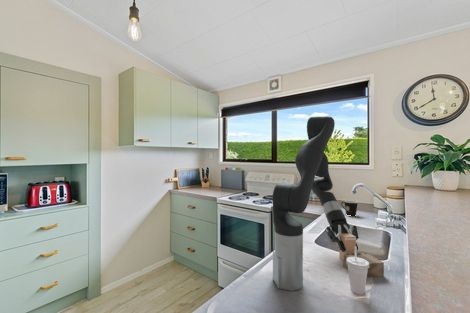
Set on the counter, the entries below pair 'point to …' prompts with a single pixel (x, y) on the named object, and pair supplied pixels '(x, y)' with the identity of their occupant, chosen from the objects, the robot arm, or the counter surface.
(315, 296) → the counter surface
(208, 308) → the counter surface
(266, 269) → the counter surface
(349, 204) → the coffee mug
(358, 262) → the smoothie
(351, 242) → the tan rectangular box
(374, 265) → the brown rectangular box
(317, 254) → the counter surface
